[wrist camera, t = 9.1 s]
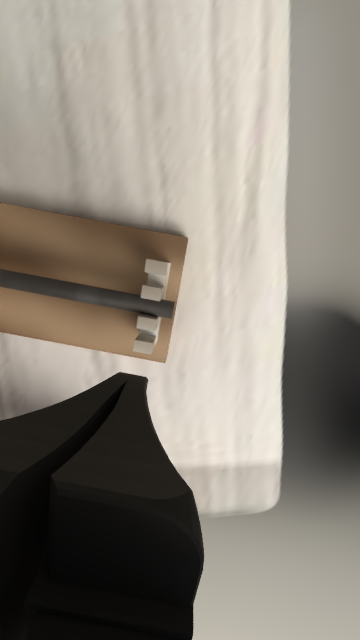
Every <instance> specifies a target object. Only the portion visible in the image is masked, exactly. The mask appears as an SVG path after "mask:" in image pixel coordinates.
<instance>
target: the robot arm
mask: <svg viewBox="0 0 360 640" xmlns="http://www.w3.org/2000/svg"><path fill="white" fill-rule="evenodd" d="M147 383H148V379H147V378H146V377H143V376H138V375H133V374H127V373H122V372H119V373H117V374H115V375H113V376H112V377H110V378H108V379H107V380H105V381H103V382H101V383H99V384H98V385H96V386H94V387H92V388H90V389H88V390H86V391H84V392H82V393H80V394H78V395H76V396H74V397H72V398H69V399H67V400H65V401H62V402H60V403H57V404H55V405H52V406H49V407H47V408H44V409H41V410H37V411H34V412H31V413H27V414H24V415H21V416H17V417H14V418H10V419H6V420H2V421H0V640H192V636H193V603H194V599H195V596H196V592H197V588H198V585H199V582H200V578H201V575H202V571H203V563H204V548H203V539H202V533H201V526H200V521H199V516H198V511H197V507H196V503H195V499H194V495H193V492H192V490H191V489H190V487H189V486H188V485H187V484H186V482H185V481H184V480H183V478H182V477H181V476H180V475H179V473H178V472H177V471H176V469H175V467H174V466H173V464H172V463H171V461H170V460H169V458H168V456H167V454H166V452H165V450H164V448H163V447H162V445H161V443H160V441H159V438H158V436H157V434H156V431H155V429H154V426H153V423H152V420H151V416H150V412H149V408H148V403H147V396H146V389H147Z"/></svg>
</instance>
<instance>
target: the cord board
mask: <svg viewBox="0 0 360 640" xmlns="http://www.w3.org/2000/svg"><path fill="white" fill-rule="evenodd" d="M187 243H188V238H187V237H182V236H176V235H171V234H165V233H160V232H155V231H149V230H144V229H139V228H133V227H128V226H122V225H117V224H112V223H106V222H101V221H96V220H90V219H85V218H80V217H74V216H69V215H63V214H58V213H53V212H47V211H42V210H37V209H31V208H26V207H20V206H15V205H10V204H4V203H0V332H4V333H9V334H14V335H19V336H25V337H30V338H35V339H40V340H46V341H51V342H56V343H62V344H67V345H72V346H77V347H83V348H88V349H93V350H99V351H104V352H109V353H114V354H120V355H125V356H130V357H135V358H141V359H146V360H151V361H157V362H162V363H165V362H166V358H167V354H168V348H169V343H170V337H171V332H172V326H173V321H174V315H175V309H176V304H177V298H178V293H179V287H180V282H181V276H182V271H183V265H184V260H185V254H186V248H187Z"/></svg>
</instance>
